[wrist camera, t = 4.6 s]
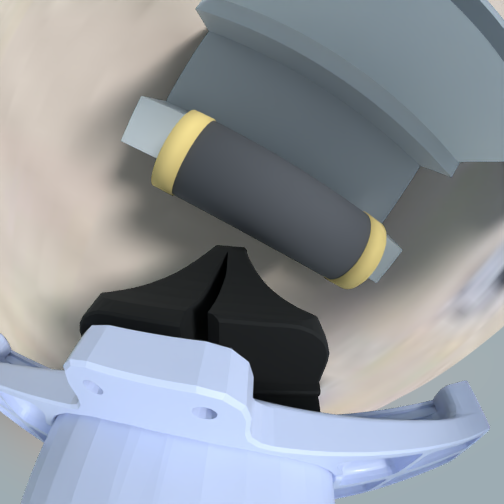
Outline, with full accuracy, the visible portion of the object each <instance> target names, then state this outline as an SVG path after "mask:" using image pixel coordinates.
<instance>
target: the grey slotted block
mask: <svg viewBox="0 0 504 504" xmlns="http://www.w3.org/2000/svg"><path fill="white" fill-rule="evenodd" d="M196 11H197V12H198V14H199V16H200V17H201V19H202V20H203V22H204V24H205V25H206V27H207V29H208V30H209V32H208V33H207V34H206V36H205V37H204V39H203V40H202V42H201V43H200V45H199V46H198V48H197V49H196V51H195V52H194V54H193V55H192V57H191V59H190V60H189V62H188V63H187V65H186V67H185V68H184V70H183V72H182V73H181V75H180V77H179V78H178V80H177V82H176V84H175V85H174V87H173V89H172V91H171V93H170V94H169V96H168V98H167V100H166V101H163V100H159V99H154V98H149V97H145V96H141V98H140V100H139V102H138V104H137V106H136V108H135V110H134V112H133V114H132V116H131V119H130V121H129V123H128V125H127V128H126V130H125V132H124V135H123V137H122V140H121V141H122V142H124V143H126V144H128V145H130V146H132V147H134V148H136V149H138V150H140V151H142V152H144V153H146V154H148V155H151V156H153V157H154V158H156V159H157V156H158V154H159V152H160V150H161V148H162V146H163V144H164V142H165V140H166V139H167V137H168V135H169V134H170V132H171V131H172V129H173V128H174V127H175V125H176V124H177V123H178V121H179V120H180V119H181V118H182V117H183V116H184V115H185V114H186V113H188V112H189V111H191V110H197V111H199V112H201V113H203V114H205V115H207V116H209V117H211V118H213V119H215V120H216V122H218V123H220V124H222V125H224V126H226V127H228V128H230V129H232V130H234V131H235V132H237V133H239V134H241V135H243V136H245V137H247V138H248V139H250V140H252V141H254V142H256V143H257V144H259V145H261V146H263V147H265V148H266V149H268V150H270V151H271V152H273V153H275V154H277V155H278V156H280V157H282V158H283V159H285V160H287V161H288V162H290V163H292V164H293V165H295V166H296V167H298V168H300V169H301V170H303V171H304V172H306V173H308V174H309V175H311V176H312V177H314V178H315V179H317V180H318V181H320V182H322V183H323V184H325V185H326V186H328V187H329V188H331V189H332V190H333V191H335V192H336V193H338V194H339V195H341V196H342V197H344V198H345V199H347V200H348V201H349V202H351V203H352V204H354V205H355V206H356V207H358V208H359V209H361V210H362V211H365V212H367V213H368V214H370V215H371V216H372V217H374V218H375V219H376V220H377V221H379V222H380V223H381V224H382V223H383V221H384V220H385V219H386V217H387V216H388V214H389V213H390V211H391V210H392V209H393V207H394V206H395V204H396V203H397V201H398V200H399V198H400V197H401V195H402V194H403V192H404V191H405V189H406V188H407V186H408V185H409V183H410V182H411V180H412V178H413V177H414V175H415V174H416V172H417V171H418V169H419V167H420V166H422V167H425V168H428V169H430V170H433V171H436V172H439V173H441V174H444V175H446V176H449V177H452V176H453V174H454V172H455V170H456V169H457V167H458V165H459V163H460V162H457V160H456V159H455V158H454V157H453V156H452V154H451V153H450V152H449V151H448V150H447V149H446V147H445V146H444V145H443V144H442V143H441V142H440V141H439V140H438V139H437V138H436V136H435V135H434V134H433V133H432V132H431V131H430V130H429V129H428V128H427V127H426V126H425V125H424V124H423V123H422V122H421V121H420V120H419V119H418V118H417V117H416V116H415V115H414V114H413V113H412V112H411V111H409V110H408V109H407V108H406V107H405V106H404V105H403V104H402V103H401V102H399V101H398V100H397V99H396V98H395V97H394V96H393V95H391V94H390V93H389V92H388V91H387V90H385V89H384V88H383V87H382V86H380V85H379V84H378V83H377V82H375V81H374V80H373V79H372V78H370V77H369V76H368V75H366V74H365V73H364V72H362V71H361V70H359V69H358V68H357V67H355V66H354V65H352V64H351V63H349V62H348V61H347V60H345V59H344V58H342V57H341V56H339V55H337V54H336V53H334V52H333V51H331V50H330V49H328V48H326V47H325V46H323V45H321V44H320V43H318V42H316V41H315V40H313V39H311V38H309V37H307V36H306V35H304V34H302V33H300V32H298V31H296V30H294V29H292V28H290V27H288V26H286V25H284V24H282V23H280V22H278V21H276V20H274V19H272V18H269V17H267V16H265V15H263V14H260V13H258V12H255V11H253V10H251V9H248V8H245V7H243V6H240V5H237V4H235V3H232V2H229V1H226V0H202V1H201V2H200V3H199V5H198V6H197V7H196ZM386 236H387V238H386V246H385V250H384V253H383V256H382V258H381V260H380V262H379V264H378V266H377V267H376V269H375V270H374V272H373V273H372V274H371V275H370V276H369V279H371V280H372V281H374V282H375V283H377V282H378V281H379V280H380V278H381V277H382V276H383V275H384V273H385V272H386V271H387V270H388V269H389V267H390V266H391V265H392V263H393V262H394V261H395V260H396V258H397V257H398V256H399V254H400V253H401V252H402V249H401V248H400V246H399V245H398V244H397V243H396V242H395V241H394V240H393V239H392V238H391V237H390V236H389V235H388V234H387V233H386Z"/></svg>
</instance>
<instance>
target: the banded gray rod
mask: <svg viewBox="0 0 504 504" xmlns="http://www.w3.org/2000/svg"><path fill="white" fill-rule="evenodd" d="M151 183H152V185H153V186H155V187H157V188H159V189H161V190H163V191H165V192H166V193H168V194H170V195H172V196H173V195H175V196H177V197H179V198H181V199H183V200H185V201H186V202H188V203H190V204H192V205H194V206H196V207H198V208H200V209H201V210H203V211H205V212H207V213H209V214H211V215H213V216H215V217H216V218H218V219H220V220H222V221H224V222H226V223H228V224H229V225H231V226H233V227H235V228H237V229H239V230H241V231H242V232H244V233H246V234H248V235H250V236H252V237H253V238H255V239H257V240H259V241H261V242H263V243H264V244H266V245H268V246H270V247H272V248H274V249H275V250H277V251H279V252H281V253H283V254H284V255H286V256H288V257H290V258H292V259H294V260H295V261H297V262H299V263H301V264H303V265H304V266H306V267H308V268H310V269H312V270H313V271H315V272H317V273H319V274H321V275H322V276H324V277H325V279H327V280H329V281H330V282H332V283H334V284H336V285H338V286H339V287H341V288H343V289H352V288H355V287H357V286H359V285H360V284H362V283H363V282H364V281H365V280H366V279H368V278H369V276H370V275H371V274H372V273H373V272H374V270H375V269H376V267H377V266H378V264H379V262H380V260H381V258H382V256H383V253H384V250H385V246H386V238H387V236H386V230H385V228H384V226H383V225H382V224H381V223H380V222H379V221H377V220H376V219H375V218H374V217H372V216H371V215H370V214H368V213H367V212H365V211H362V210H361V209H359V208H358V207H356V206H355V205H354V204H352V203H351V202H349V201H348V200H347V199H345V198H344V197H342V196H341V195H339V194H338V193H336V192H335V191H333V190H332V189H331V188H329V187H328V186H326V185H325V184H323V183H322V182H320V181H318V180H317V179H315V178H314V177H312V176H311V175H309V174H308V173H306V172H304V171H303V170H301V169H300V168H298V167H296V166H295V165H293V164H292V163H290V162H288V161H287V160H285V159H283V158H282V157H280V156H278V155H277V154H275V153H273V152H271V151H270V150H268V149H266V148H265V147H263V146H261V145H259V144H257V143H256V142H254V141H252V140H250V139H248V138H247V137H245V136H243V135H241V134H239V133H237V132H235V131H234V130H232V129H230V128H228V127H226V126H224V125H222V124H220V123H218V122H216V120H215V119H213V118H211V117H209V116H207V115H205V114H203V113H201V112H199V111H197V110H191V111H189V112H188V113H186V114H185V115H184V116H183V117H182V118H181V119H180V120H179V121H178V123H177V124H176V125H175V127H174V128H173V129H172V131H171V132H170V134H169V135H168V137H167V139H166V140H165V142H164V144H163V146H162V148H161V150H160V152H159V154H158V156H157V159H156V161H155V164H154V167H153V171H152V176H151Z"/></svg>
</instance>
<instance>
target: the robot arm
mask: <svg viewBox="0 0 504 504" xmlns="http://www.w3.org/2000/svg"><path fill="white" fill-rule="evenodd" d="M80 333H81V339H80V340H79V342H78V343H77V345H76V346H75V348H74V349H73V351H72V353H71V354H70V356H69V357H68V359H67V360H66V362H65V364H64V365H63V367H64V370H55V369H51V368H48V367H46V366H44V365H42V364H39V363H37V362H35V361H33V360H31V359H29V358H27V357H24V356H22V355H20V354H19V353H17V352H15V351H13V350H11V347H10V345H9V343H8V341H7V340H6V338H5V337H4V336H3V335H2V334H1V333H0V411H1V412H2V413H3V414H4V415H6V416H7V417H8V418H10V419H11V420H13V421H14V422H15V423H16V424H18V425H19V426H20V427H22V428H23V429H25V430H26V431H28V432H29V433H30V434H32V435H33V436H35V437H36V438H38V439H39V440H41V441H42V442H44V444H43V447H42V449H41V451H40V453H39V456H38V458H37V460H36V463H35V465H34V468H33V470H32V473H31V475H30V478H29V481H28V483H27V486H26V489H25V492H24V495H23V498H22V501H21V504H335V499H338V498H343V497H348V496H352V495H356V494H361V493H365V492H368V491H372V490H375V489H379V488H382V487H385V486H388V485H392V484H395V483H398V482H400V481H403V480H406V479H409V478H411V477H414V476H417V475H419V474H422V473H425V472H427V471H429V470H432V469H434V468H437V467H439V466H442V465H444V464H446V463H449V462H451V461H452V460H453V459H455V458H456V457H457V456H459V455H460V454H461V453H463V452H464V451H465V450H467V449H468V448H469V447H470V446H471V445H473V444H474V443H475V442H476V441H478V440H479V439H480V438H481V437H482V436H483V435H484V434H485V433H487V432H488V431H489V429H490V426H489V424H488V422H487V419H486V417H485V415H484V413H483V411H482V409H481V407H480V404H479V402H478V401H477V399H476V396H475V394H474V393H473V391H472V389H471V387H470V385H469V383H468V381H466V380H465V381H461V382H457V383H454V384H449V385H447V386H445V387H444V388H442V389H441V390H440V391H439V392H438V393H437V394H436V395H435V397H434V399H433V400H431V401H426V402H422V403H418V404H412V405H407V406H402V407H397V408H391V409H385V410H378V411H370V412H361V413H351V414H339V415H336V414H329V413H322V412H320V406H319V399H318V396H319V395H320V385H319V381H320V379H321V376H322V374H323V372H324V369H325V367H326V364H327V362H328V357H329V349H328V343H327V340H326V336H325V334H324V331H323V329H322V327H321V325H320V322H319V320H318V318H317V316H315V315H313V314H311V313H308V312H306V311H304V310H302V309H299V308H297V307H296V306H294V305H292V304H290V303H289V302H287V301H286V300H284V299H283V298H281V297H280V296H279V295H277V294H276V293H275V292H274V291H272V290H271V289H270V288H269V287H268V286H267V285H266V284H265V283H264V281H263V280H262V279H261V277H260V276H259V275H258V273H257V272H256V270H255V269H254V267H253V265H252V263H251V261H250V259H249V257H248V254H247V250H246V249H245V248H244V247H232V246H220V245H216V246H215V247H214V248H212V249H211V250H210V251H208V252H207V253H206V254H205V255H203V256H202V257H201V258H199V259H198V260H196V261H195V262H193V263H192V264H190V265H189V266H187V267H186V268H184V269H182V270H180V271H179V272H177V273H175V274H173V275H170V276H168V277H166V278H163V279H161V280H158V281H155V282H153V283H150V284H147V285H143V286H139V287H135V288H131V289H126V290H120V291H113V292H105V293H101V294H100V295H99V296H98V298H97V299H96V300H95V302H94V303H93V304H92V305H91V307H90V308H89V309H88V311H87V312H86V313H85V314H84V316H83V317H82V320H81V322H80Z"/></svg>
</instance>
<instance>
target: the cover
mask: <svg viewBox="0 0 504 504" xmlns="http://www.w3.org/2000/svg"><path fill="white" fill-rule="evenodd" d="M226 1H229V2H232V3H235V4H237V5H240V6H243V7H245V8H248V9H251V10H253V11H255V12H258V13H260V14H263V15H265V16H267V17H269V18H272V19H274V20H276V21H278V22H280V23H282V24H284V25H286V26H288V27H290V28H292V29H294V30H296V31H298V32H300V33H302V34H304V35H306V36H307V37H309V38H311V39H313V40H315V41H316V42H318V43H320V44H321V45H323V46H325V47H326V48H328V49H330V50H331V51H333V52H334V53H336V54H337V55H339V56H341V57H342V58H344V59H345V60H347V61H348V62H349V63H351V64H352V65H354V66H355V67H357V68H358V69H359V70H361V71H362V72H364V73H365V74H366V75H368V76H369V77H370V78H372V79H373V80H374V81H375V82H377V83H378V84H379V85H380V86H382V87H383V88H384V89H385V90H387V91H388V92H389V93H390V94H391V95H393V96H394V97H395V98H396V99H397V100H398V101H399V102H401V103H402V104H403V105H404V106H405V107H406V108H407V109H408V110H409V111H411V112H412V113H413V114H414V115H415V116H416V117H417V118H418V119H419V120H420V121H421V122H422V123H423V124H424V125H425V126H426V127H427V128H428V129H429V130H430V131H431V132H432V133H433V134H434V135H435V136H436V138H437V139H438V140H439V141H440V142H441V143H442V144H443V145H444V146H445V147H446V149H447V150H448V151H449V152H450V153H451V154H452V156H453V157H454V158H455V159H456V160H457V162H504V20H503V18H502V17H501V16H500V15H499V13H498V12H497V11H496V10H495V9H494V7H493V6H492V5H491V4H490V3H489V2H488V1H487V0H226Z"/></svg>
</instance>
